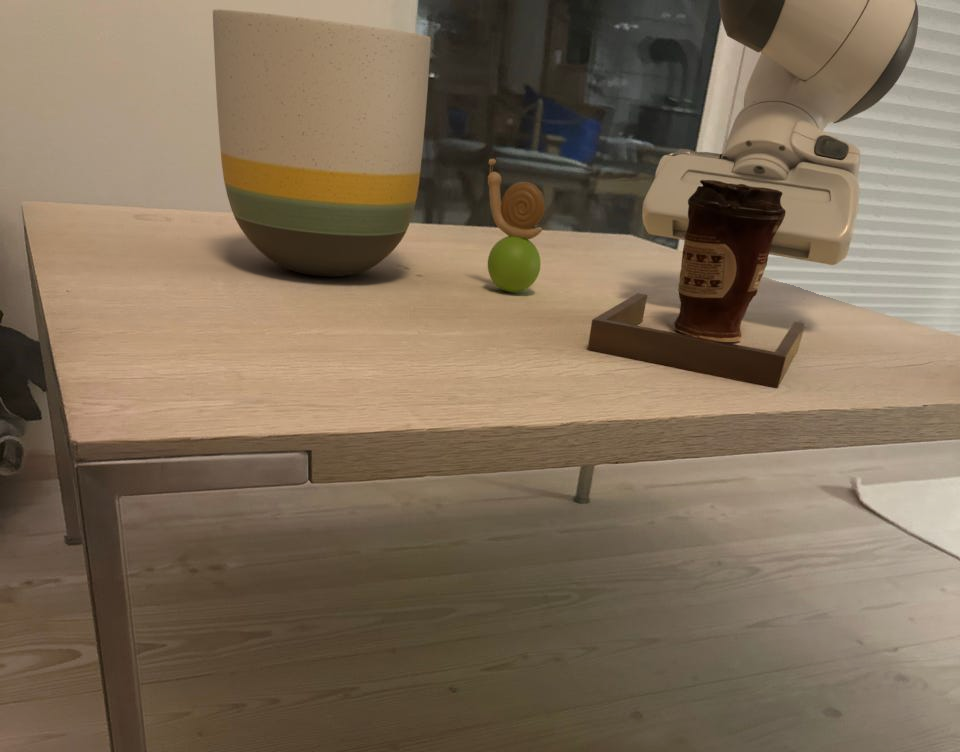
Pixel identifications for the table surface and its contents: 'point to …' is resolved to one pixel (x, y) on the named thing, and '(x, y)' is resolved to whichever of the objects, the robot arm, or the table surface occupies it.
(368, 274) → the table surface
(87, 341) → the table surface
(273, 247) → the planter
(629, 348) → the corral
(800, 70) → the robot arm
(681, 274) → the coffee cup
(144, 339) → the table surface
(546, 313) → the table surface
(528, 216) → the snail figurine
